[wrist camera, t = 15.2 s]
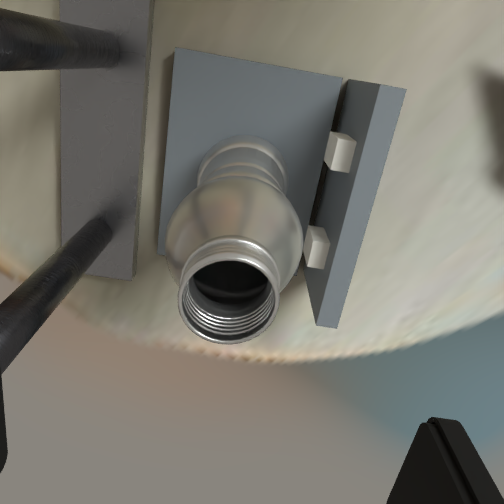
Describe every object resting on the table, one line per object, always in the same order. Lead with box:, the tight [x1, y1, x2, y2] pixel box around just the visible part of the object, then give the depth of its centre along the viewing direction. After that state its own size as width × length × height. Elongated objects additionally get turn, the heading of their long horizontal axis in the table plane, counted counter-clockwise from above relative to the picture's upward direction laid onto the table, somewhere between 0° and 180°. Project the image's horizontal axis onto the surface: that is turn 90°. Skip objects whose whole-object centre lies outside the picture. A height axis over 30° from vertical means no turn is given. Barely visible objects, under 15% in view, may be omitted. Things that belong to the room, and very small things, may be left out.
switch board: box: [157, 47, 407, 329], centre depth 31 cm, size 16×14×9 cm
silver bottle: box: [165, 135, 303, 344], centre depth 25 cm, size 6×7×20 cm
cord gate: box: [0, 0, 154, 374], centre depth 25 cm, size 22×6×20 cm, turn 170°
